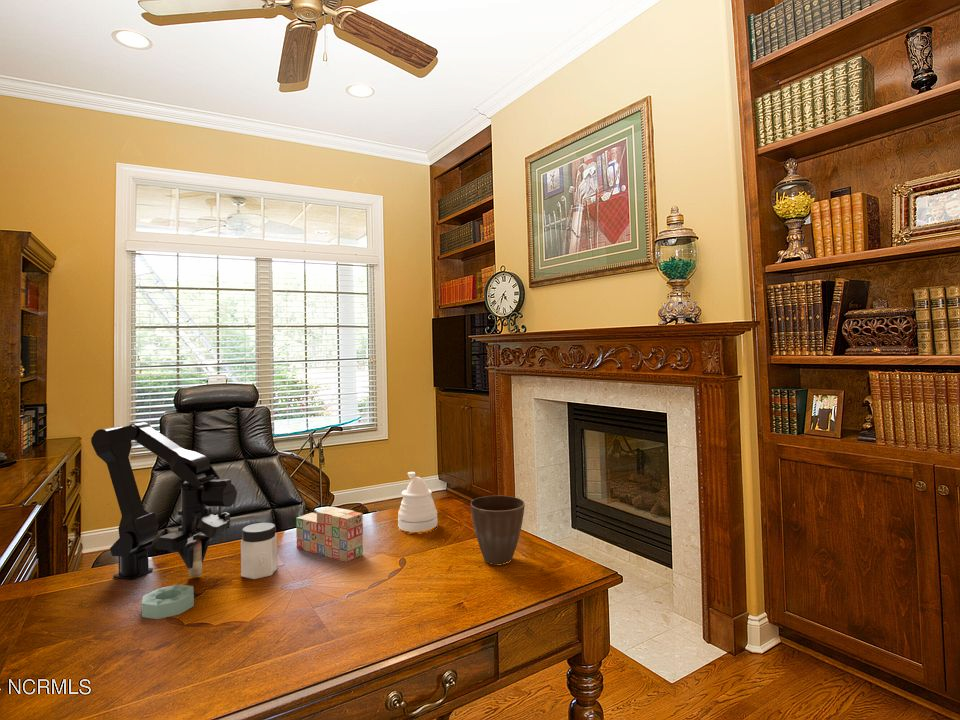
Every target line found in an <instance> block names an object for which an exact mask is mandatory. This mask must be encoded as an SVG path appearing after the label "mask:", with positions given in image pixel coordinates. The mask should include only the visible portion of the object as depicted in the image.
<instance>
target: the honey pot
mask: <svg viewBox="0 0 960 720" xmlns="http://www.w3.org/2000/svg"><path fill="white" fill-rule="evenodd" d="M407 476H408V478H409V479H411V480H410V482H409V483H408V485H407V488H406V489H404V490H402V492H401V496H402V500H401V502H400V506H399V509H398V512H397V515H398V516H397V528H398V527H399V529H401V530H404V531H409V532H420V531H426V530H430V529H432V528H434V527H436V526H437V527H438V510H437V508H436V504H435V503H434V502H435V501H434V499H433V497H432V493H433V492H432V491H433V490H431V489H429V487H428V485H427V483H426V482H425V480H424V479H423V478H421V477H420V476H416V472H415V471H409V472H407ZM399 529H398V530H399Z"/></svg>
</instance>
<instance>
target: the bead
mask: <svg viewBox="0 0 960 720" xmlns="http://www.w3.org/2000/svg"><path fill="white" fill-rule="evenodd" d="M194 592H195V591H194V585H186V584H174V585H168V586H164V587H160V588H157V589H155V590H153V591H150V592H148V593H146V594H144V595H143V596H142V600H141V617H142V618H147V619H152V620H160V619H164V618H169V617H173V616H178V615H181V614H182V613H184V612H186V611H188V610H189V609H191V608H193V607H194V606H195V604H194V603H195V602H194V601H195V600H194V599H195V595H194V594H195V593H194Z"/></svg>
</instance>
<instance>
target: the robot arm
mask: <svg viewBox="0 0 960 720" xmlns="http://www.w3.org/2000/svg"><path fill="white" fill-rule="evenodd" d="M132 441H135V442H137V444H139V445H141V446H142V447H143V448H146V449H147V451H149V452H151V453H152V454H153V455H156V456H157V457H158V458H160V459H161V460H163V461H165V462H166V463H167V464H168V465H169V468H170V470H171V472H172V473H173V474H174V475H175V476H176V477H177V478H178V479H179V480H178V482H177V483H175V484H174V485H173V486H172V487H173V489H175V490H176V489H177V490H178V489H180V490H181V491H180V492H181V494H180V495H181V509H180V510H177V516H181V525H180V526H178V527H177V531H178V532H182V533H175V532H169V533H167V534H164V535H161V536H160V537H159V536H158V534H159V527H160V524H159V522H158V520H157V515H156V513H155V512H153V511H152V512H150V513H149V512H148V511H147V510H146V509H144V505H143V501H142V499H141V495H140V492H139V488H138V484H137V481H136V478H135V475H134V471H133V468H132V465H131V461H130V459H129V458H130V453H131V450H132V447H133V446H132V445H133V444H132ZM90 443H91V446H92V448H93V450H94V452H95V454H96V456H97V457H98V458H100V460H102V461H103V462H104V463H105V464H106V466H107V470H108V472H109V476H110V480H111V483H112V486H113V490H114V494H115V497H116V501H117V503H118V504H117V505H118V508H119V511H120V514H121V517H120V522H119V526H118V528H117V529H118V539H117V540H116V541H115V542H114V543H113V544H112V546H110V548H109V551H110V553H111V556H112V557H118V573H115V574H113V575H112V577H113V578H114V579H115V578H117V579H124V580H135V579H137V578H140V577H141V576H143V575H146V574H148V573H150V572H152V571H153V570H154V568H153V567H152V568H151V567H149V555H148V548H149V547H152V546H153V545H154V543H155V550H161V551H169V552H175V551H176V552H177V553H178V554H179V555H180V558H181V559H182V560H183V562H184V564H185V566H186V568H187V569H188V570H189V569H191V568H192V567H193V549H194V547H195V546H196V545H197V543H195V542H193V540H201V545H202V564H203V563H204V561H205V557H206V554H207V550H208V547H209V545H210V542H211V541H213V539H215V538H217V537H218V536H221V535H224V534H225V531H226V530H227V529H229V528H230V526H231V515H230V513H229V512H227V511H224V512H222V513H219V514H216V515H215V514H213V512H212V509H211V507H216V508H217V507H220V508H221V507H222V508H224V507H225V508H230V507H232V506H233V505H234V504H235V502H236V500H237V495H238V493H237V492H238V490H237V489H236V487H235V485H234V484H233V483H232V479H231V478H225V479H221V478H220V476H219V474H218V473H217V471H216V470H215V469H214V467H213V465H211V463H210V462H211V461H210V458H208V456H206V455H204V454H201V452H200V453H199V452H197V451H194V450H191V449H190V450H189V449H185V448H183V447H181V446H180V445H178V444H177V443H175V442H174V441H172V440H171V439H169V438H168V437H166V436H165V435H164V434H162V433H161V432H159V431H157V430H155V429H154V428H153V427H152V426H151V425H150V424H149V423H147V422H136V423H135V422H134V423H132V424H129V425H127V426H123V425H122V426H121V425H120V426H111V427H107V428H100V429H97V430H96V431H95V432H94V433H93V434H92V436H91V438H90ZM157 536H158V538H157ZM156 538H157V539H156Z"/></svg>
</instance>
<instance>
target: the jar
mask: <svg viewBox="0 0 960 720" xmlns="http://www.w3.org/2000/svg"><path fill="white" fill-rule="evenodd" d="M277 569H278V534H277V533H276V525H275V523H272V522H258V523H257V522H256V523H252V524H248V525H246V526H244V527H243V528H242V530H241V540H240V577H242V578H247V579H251V580H257V579H262V578H266V577H269V576H270V577H271V576H273V574H275V572H276V571H277Z"/></svg>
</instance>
